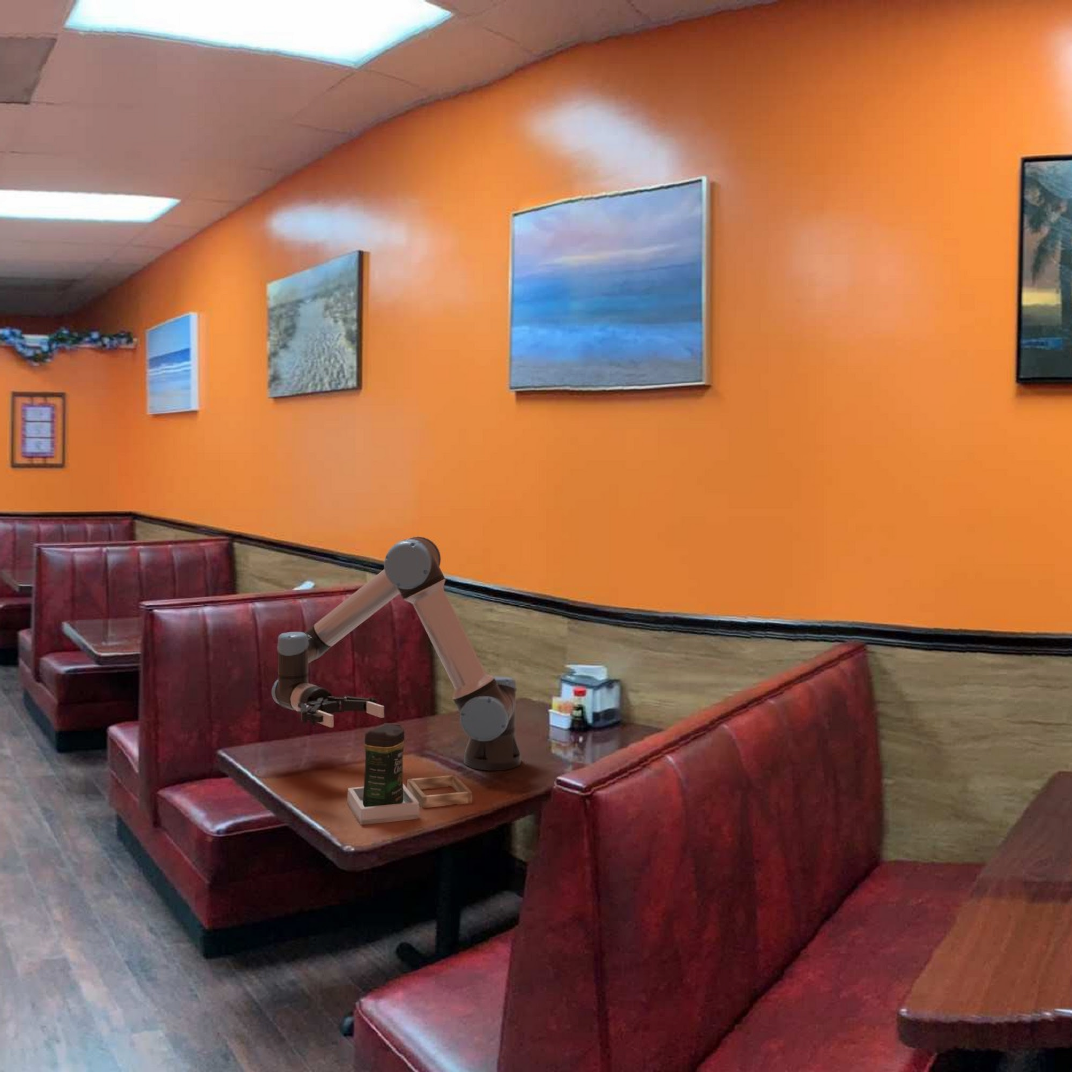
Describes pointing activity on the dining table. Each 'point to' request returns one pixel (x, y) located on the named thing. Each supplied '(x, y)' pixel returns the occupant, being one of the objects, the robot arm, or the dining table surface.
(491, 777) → the dining table surface
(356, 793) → the parts tray
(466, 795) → the holder collar
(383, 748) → the coffee jar
